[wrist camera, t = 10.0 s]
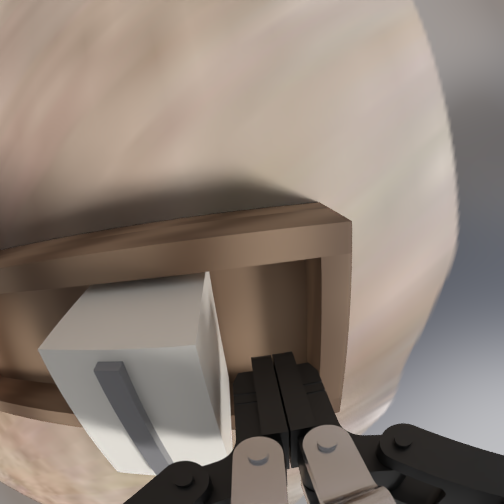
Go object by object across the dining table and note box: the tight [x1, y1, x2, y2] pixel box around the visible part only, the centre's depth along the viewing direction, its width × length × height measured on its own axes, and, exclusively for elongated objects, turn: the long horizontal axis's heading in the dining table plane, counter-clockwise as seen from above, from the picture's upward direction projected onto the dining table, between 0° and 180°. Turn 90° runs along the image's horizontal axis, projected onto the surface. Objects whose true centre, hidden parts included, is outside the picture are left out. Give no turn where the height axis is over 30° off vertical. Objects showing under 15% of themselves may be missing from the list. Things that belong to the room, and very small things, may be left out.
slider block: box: [38, 272, 233, 475], centre depth 11 cm, size 5×7×6 cm
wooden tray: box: [0, 202, 352, 430], centre depth 13 cm, size 24×10×4 cm, turn 96°
